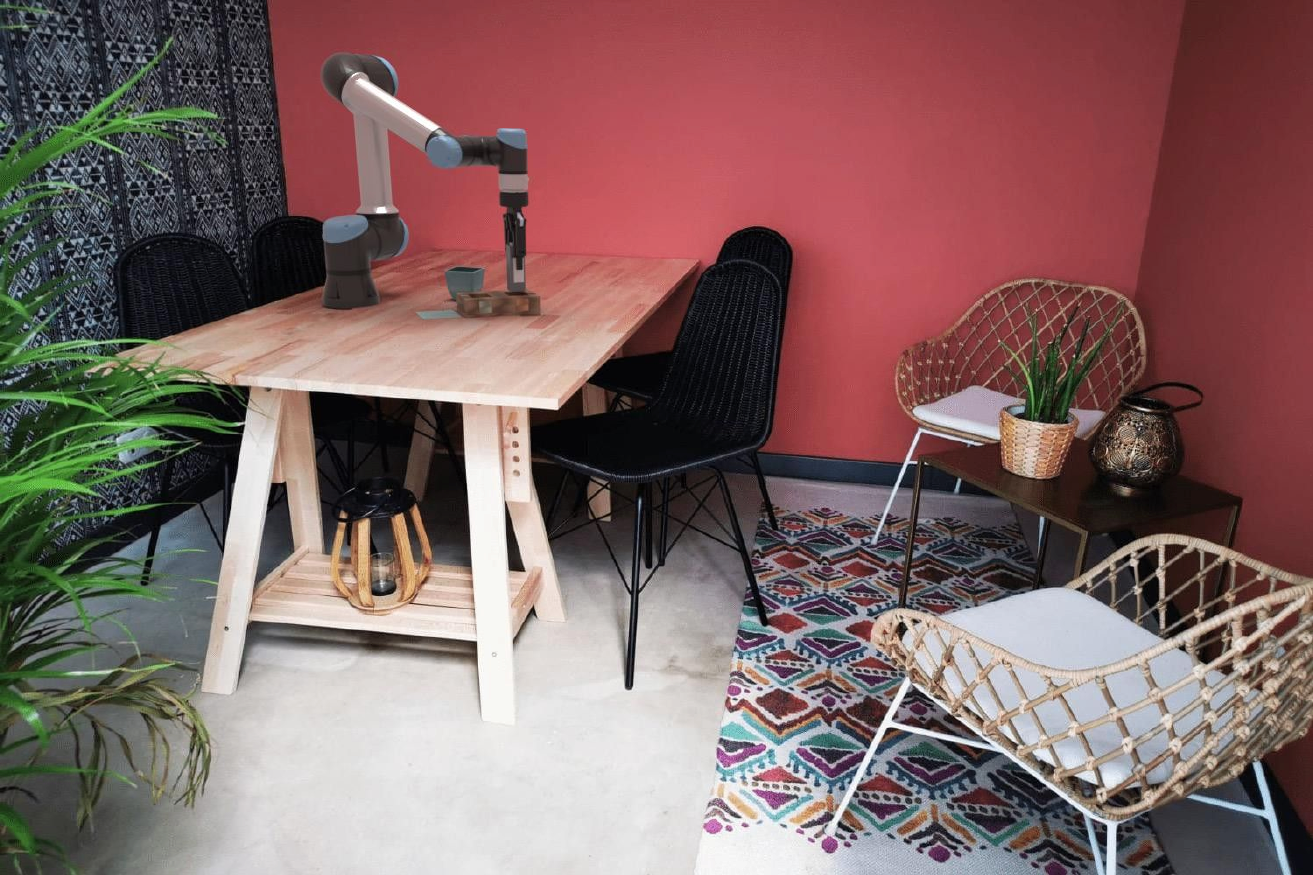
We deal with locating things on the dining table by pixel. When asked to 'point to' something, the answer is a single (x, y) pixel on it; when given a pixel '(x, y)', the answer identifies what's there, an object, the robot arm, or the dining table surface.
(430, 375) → the dining table surface
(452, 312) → the mat
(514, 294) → the socket block
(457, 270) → the flower pot
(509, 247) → the plug
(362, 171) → the robot arm
